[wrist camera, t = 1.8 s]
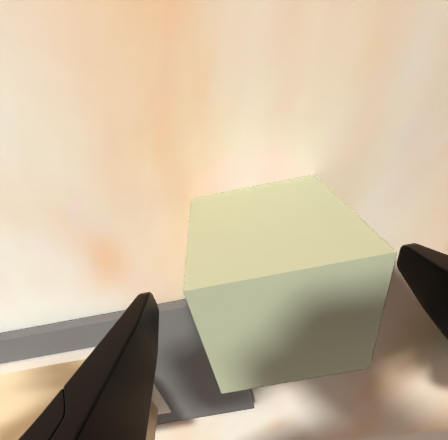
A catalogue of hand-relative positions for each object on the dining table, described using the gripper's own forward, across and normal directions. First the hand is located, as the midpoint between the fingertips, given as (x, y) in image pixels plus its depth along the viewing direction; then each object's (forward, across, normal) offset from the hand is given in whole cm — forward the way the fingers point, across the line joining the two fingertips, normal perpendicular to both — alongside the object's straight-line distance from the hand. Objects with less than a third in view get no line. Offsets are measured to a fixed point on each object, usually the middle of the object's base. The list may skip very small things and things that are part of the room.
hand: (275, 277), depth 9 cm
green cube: (+3, 0, 0) cm, 3 cm away
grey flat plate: (+3, +10, +9) cm, 14 cm away
